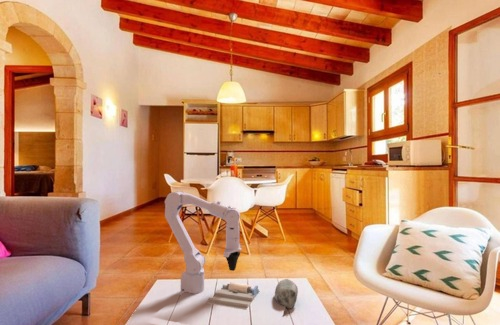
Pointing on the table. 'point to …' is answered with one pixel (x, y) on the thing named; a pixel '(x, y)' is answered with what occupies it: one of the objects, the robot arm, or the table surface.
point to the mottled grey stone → (286, 293)
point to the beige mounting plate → (233, 298)
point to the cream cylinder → (239, 288)
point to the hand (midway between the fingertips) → (232, 270)
